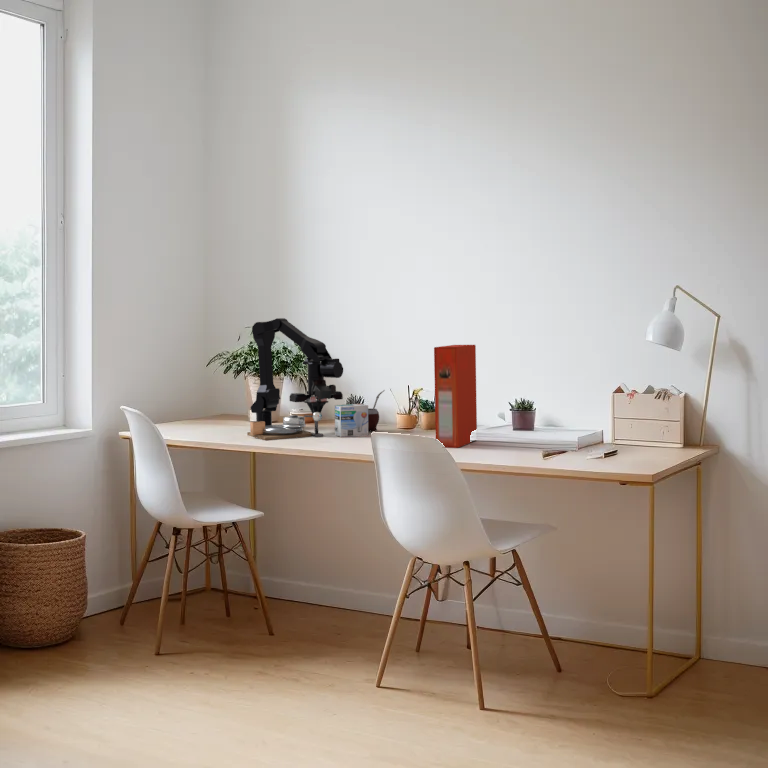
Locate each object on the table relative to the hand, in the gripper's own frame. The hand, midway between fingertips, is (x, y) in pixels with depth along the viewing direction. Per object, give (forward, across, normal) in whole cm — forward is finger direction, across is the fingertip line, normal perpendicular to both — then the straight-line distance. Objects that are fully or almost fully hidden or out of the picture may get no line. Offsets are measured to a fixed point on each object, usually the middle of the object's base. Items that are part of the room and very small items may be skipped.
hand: (316, 420), depth 357 cm
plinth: (+4, -14, 0) cm, 15 cm away
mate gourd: (+5, +18, -8) cm, 20 cm away
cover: (+1, -9, 0) cm, 9 cm away
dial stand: (+4, -5, -8) cm, 11 cm away
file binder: (+5, +25, -53) cm, 58 cm away
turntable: (+3, -16, 0) cm, 16 cm away
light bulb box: (+5, +7, -14) cm, 16 cm away
